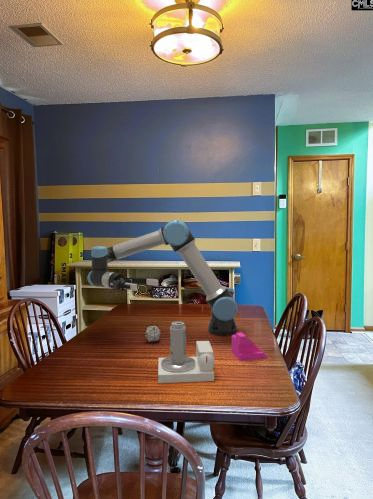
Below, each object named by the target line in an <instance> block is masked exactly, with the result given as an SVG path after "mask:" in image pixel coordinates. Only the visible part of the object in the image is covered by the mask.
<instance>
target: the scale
mask: <svg viewBox="0 0 373 499" xmlns="http://www.w3.org/2000/svg"><path fill="white" fill-rule="evenodd" d="M195 344H196V347H195V349H196V351H195V352H196V356H190V357H191V358H193V359H194V360H195V367H194V368H193V369H192V370H190V371H187V372H179V373H176V372H169V371H166V370H164V369H162V367H161V361H162V360H163V359H165V358H166V357H158V363H157V364H158V365H157V366H158V369H157V372H158V373H157V376H158V377H157V378H158V379H157V380H158V384H172V383H173V384H174V383H175V384H176V383H194V382H195V383H197V382H215V371H214V366H215V363H216V360H215V358H214V351H213V347H212V345H211V342H210V341H209V340H196V341H195Z"/></svg>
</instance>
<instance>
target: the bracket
mask: <svg viewBox="0 0 373 499" xmlns="http://www.w3.org/2000/svg"><path fill="white" fill-rule="evenodd" d="M231 353H232V354H233V355H234V356H235V357H236V359H238V361H240V362H243V361H253V360H264V359H268V356H267V355H266V354H265V353H264V352H263V351H262V350H261V349H260V348H259V347H258V346H257V345H256V344H254V342H253V341H252V340H251V339H250V338H249V337H247V335H245V334H244V333H243V332H241V331H240V332H236V333H235V334H232V335H231Z"/></svg>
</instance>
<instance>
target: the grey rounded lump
mask: <svg viewBox="0 0 373 499" xmlns="http://www.w3.org/2000/svg"><path fill="white" fill-rule="evenodd" d="M146 327H147V328H146V330H145V333H144V334H143V336H145V338H146V339H147V343H148V344H149V343H150V342H151V343H152V342H158V343H159V342H160V340H159V339H160V337H161V334H162V333H163V331H161V330H160V329H159V327H158V324H156V325H149V326H148V325H146Z"/></svg>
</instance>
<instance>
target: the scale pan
mask: <svg viewBox="0 0 373 499" xmlns="http://www.w3.org/2000/svg"><path fill="white" fill-rule="evenodd" d="M191 357H192V356H187V355H186V361H185V363H183V364H180V365H175V364H173V363H172V362H171V361H170V356H167V357H164V358H165V359H163V360H162V361H161V367H162V369H164V370H166V371H169V372H176V373H179V372H187V371H190V370H192V369H193V368H194V367H195V360H194V359H193V358H191Z"/></svg>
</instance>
